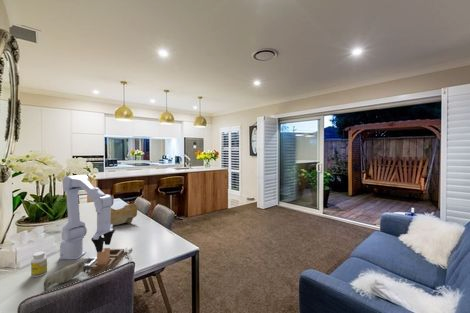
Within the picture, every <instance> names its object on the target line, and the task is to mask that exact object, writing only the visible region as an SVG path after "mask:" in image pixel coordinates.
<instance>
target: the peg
mask: <svg viewBox="0 0 470 313" xmlns="http://www.w3.org/2000/svg"><path fill="white" fill-rule="evenodd" d="M110 249H111V248H110V247H103V250H102V252H97V251H96V257H97V265H107V264H108V263H109V262H110Z"/></svg>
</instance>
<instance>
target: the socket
mask: <svg viewBox="0 0 470 313" xmlns="http://www.w3.org/2000/svg"><path fill="white" fill-rule="evenodd" d="M86 258H88V261H86V262H85V263H86V264H85V263H84V267H83V270H84V269H85V267H86V266H87V267H86V269H87V270H90V266H91V265H92V264H94V263H95V262H96V261H97V256H94V257H93V256H91V257H89V256H88V257H87V256H86V257H82V256H81V257H80V259H78V260H77V261H76V262H75V263H77V262H79V261H81V260H83V259H86ZM87 262H89V263H87Z"/></svg>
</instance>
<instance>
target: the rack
mask: <svg viewBox="0 0 470 313" xmlns="http://www.w3.org/2000/svg"><path fill="white" fill-rule="evenodd" d="M124 250H125V248H110V262H109V263H108V264H107V265H97V261H96V262H95V263H94V264H92V265H91V266H90V269H88V270H87V271H88V275H100V274H99V273H102V272H104V271H107V270H109V269H112V268H113V269H114V268H115V267H116V265H117V264H118V263H120V261H121V260H122V258H124V257H125V256H126V254H125V252H124ZM113 269H112V270H113Z"/></svg>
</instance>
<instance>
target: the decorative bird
mask: <svg viewBox="0 0 470 313" xmlns="http://www.w3.org/2000/svg"><path fill="white" fill-rule="evenodd" d="M78 261H79V260H78ZM86 261H88V258H86V259H83V260H81V261H79V262H77V261H76V262H77V263H76V262H75V263H72V264H68V265H67V266H65V267H63V268H61V269H59V270H58V271H54V272H52V273H50V274H48V275H47V277H46V278H45V279H44V281H43V289H44V291H47V289H49V288H50V287H51V286H53V285H55V284H58V285H59V284H63V283H67V282H69V281H71V280H72V279H75V277H76V276H79V274H81V273H85V275H86V276H89V274H88V271H89V270H86V267H87V266H86V267H85V269H83V267H84V264H85V263H87V262H86Z"/></svg>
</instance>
